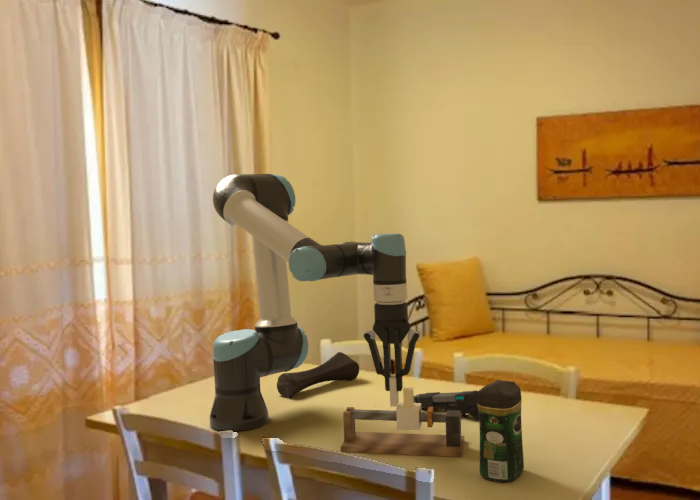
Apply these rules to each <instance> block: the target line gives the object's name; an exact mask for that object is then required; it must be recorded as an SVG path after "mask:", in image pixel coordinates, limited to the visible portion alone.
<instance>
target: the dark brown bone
mask: <svg viewBox="0 0 700 500" xmlns="http://www.w3.org/2000/svg"><path fill="white" fill-rule="evenodd" d="M359 374H360V365H359V363H358V362H357V361H355V360H354V359H353V358H351V357H349V355H347V354H345V353H344V352H341V351H338V352H336V354H334V355H333V356H332V357H331V358H329V359H328V360H326V361H325V362H324V363H322V364H320V365H318V366H315V367H314V368H310V369H306V370H303V371H295V372H282V373H281V374H280V375H279V376H278V378H277V381H276V390H277V392H278V393H279V395H280V396H282V397H284V398H286V399H291V398H293V397H294V396H296V395H297V394H298V393H301V391H303V390H305V389H307V388H309V387H312V386H314V385H317V384H320V383H324V382H332V381H333V382H334V381H336V382H337V381H340V382H342V381H344V382H353V381H354V380H355V379H357V377H358V376H359Z"/></svg>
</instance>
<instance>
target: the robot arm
mask: <svg viewBox="0 0 700 500" xmlns="http://www.w3.org/2000/svg"><path fill="white" fill-rule="evenodd" d="M293 187H294V186H292V184H291V182H290V181H289V180H288V179H287V178H286V177H284V176H283V175H280V174H272V173H256V174H255V173H248V174H247V173H244V174H243V173H242V174H241V173H235V174H234V173H233V174H231V175H228V176H226V177H224V178H222V179H221V180H220V181H219V182H218V183H217V185H216V186H215V188H214V191H213V194H212V204H213V208H214V210H215V212H216V214H218V216H219V217H220V218H221V219H223V220H224V221H225V222H226V223H227V224H229V225H231V226H233V227H234V226H235V227H236V226H238V227H240V228H241V229H242V230H244V231H245V232H247V233H248V234H249V235H251V237H252V246H253V247H252V248H253V256H254V257H253V258H254V269H255V279H256V280H255V282H256V291H257V304H258V314H259V319H258V320H257V322H256V323H255V324H254V329H249V328H247V329H245V328H242V329H239V330H232V331H228V332H225V333H223V334H221V335H218V337H216V338H215V340H214V341H213V344H212V361H213V377H214V379H213V380H214V394H215V395H214V397H213V402H212V407H211V409H210V410H211V411H210V414H209V427H211V428H212V429H214V430H216V431H217V430H218V431H221V430H234V431H233V432H239V431H248V430H253V429H256V428H260V427H262V426H264V425H265V424H267V423H268V422H269V420H270V419H269V410H268V407H267V405H266V402H265V399H264V396H263V394H262V391H261V378H264V377H267V376H271V375H272V376H273V375H274V374H275V375H276V374H279V373H288V372H290V371H292V370H294V369H297V368H299V367H301V365H303V363H304V362H305V361H306V359H307V356H308V353H309V352H308V351H309V341H308V337H307V334H305V331H304V329H303V328H302V327H300V326H298V320H297V319H296V318H294V317H293V315H292V311H291V299H290V290H289V289H290V286H289V277H288V270H289V272H290V273H291V274H292V275H291V276H292V277H293V278H294V279H295V280H297V281H299V282H316V281H320V280H325V279H333V278H340V277H347V276H348V277H349V276H355V275H366V276H367V275H369V276H372V279H373V280H372V284H373V285H372V286H373V288H372V289H373V301H374V302H375V303H374V305H373V310H374V323H373V326H372V329H370V330H369V331H366V332H365V333H364V334H363V338H364V339H365V341H366V342H367V344H368V347H369V351H370V354H371V357H372V362H373V365H374V369H375V372H376V374H377V375H378V376H379V375H380V376H383V378H384V389H385V391H386V392H389V402H390V403H389V404H390V407H393V408H394V407H395V408H397V406H398V405H399V403H400V402H399V401H400V400H399V399H400V398H399V392H402V391H403V389H404V385H403V382H404V381H403V377H404V376H408V375H409V374H410V371H411V369H412V368H411V367H412V364H413V359H414V354H415V349H416V345H417V341H418V339H419V338H420V336H421V332H420V331H416V330H414V329H413V328H411V323H410V322H409V314H408V313H409V311H408V310H409V309H408V308H409V307H408V303H407V302H406V300H408V288H407V286H408V283H407V265H406V264H407V251H406V243H405V236H404V235H403V234H401V233H399V232H398V233H397V232H395V233H376V234H373V235H372V236H371V242H360V241H359V242H358V241H345V242H344V241H343V242H340V243H335V244H324V245H323V244H320V243H318V241H316V240H314V239H312V238H310V237H309V236H308V235H307V234H305V233H304V232H302V231H301V230H299V229H298V228H296V227H295V226H293V225H292V224H291V223H289V215H291V214H292V213H293V211H294V210H295V209H294V207H295V206H296V193H295V190H294V188H293ZM287 262H288V264H287ZM287 265H288V266H287ZM407 335H408V339H409V340H410V341H409V343H408V348H407V353H406V356H405V357H406V358H405V363H404V368H403V354H402V353H403V352H402V351H403V349H402V347H403V346H402V345H403V341H404V339H406V337H407ZM376 336H377V337H378V338H379V340H380V341H381V342H382V349H383V350H382V351H383V362H382V359H381V355H380V352H379V351H380V350H379V347H378V345H377V342H376ZM391 344H393V348H394V367H395V368H394V370H395V371H394V372H395V374H392V373H393V371H392V358H391V356H392V354H391V353H392V352H391Z"/></svg>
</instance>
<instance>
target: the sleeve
mask: <svg viewBox="0 0 700 500" xmlns="http://www.w3.org/2000/svg"><path fill="white" fill-rule="evenodd" d="M402 391H403V393H402V394H403V402H399V404H398V406H397V407H395V408H396V409H395V411H396V416H397V421H396V430H399V431H417V432H418V431H420V429H421V427H422V424H423V422H419V412H422V408H421V403H414V396H415V395H414V387H412V386H411V387H410V386H408V387H406V386H403V388H402Z"/></svg>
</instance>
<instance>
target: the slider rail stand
mask: <svg viewBox="0 0 700 500" xmlns="http://www.w3.org/2000/svg"><path fill="white" fill-rule="evenodd" d="M345 409H346V411H345V410H344V411H343V413H342V415H343V416H342V417H343V419H342V420H343V439H344V440H343V442H342V443H341V445H340V452H343V451H344V452H345V453H347V452H348V453H367V454H368V453H369V454H386V455H387V454H390V455H407V456H408V455H410V456H430V457H431V456H432V457H450V458H451V457H453V458H454V457H457V458H463V457H462V456H463V451H464V447H465V439H466V438H465V435H462V419H461V417H462V414H461V411H457V410H447V412H445V411H434V410H433V407H429V408H428V410H426V411H421V412H419V422H422V423H426V424H427V428H433V426H434V423H438V424H439V423H441V424H442V423H445V434H428V433H427V434H426V433H425V434H424V433H403V432H402V433H401V432H400V433H399V432H398V433H396V432H379V431H378V432H377V431H376V432H374V431H356V420H360V421H383V422H384V421H385V422H387V421H388V422H397V416H396V410H386V409H385V410H384V409H383V410H379V409H355V407H354V406H347V407H346V408H345Z"/></svg>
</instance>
